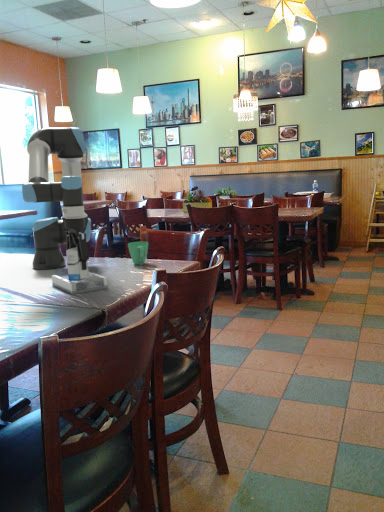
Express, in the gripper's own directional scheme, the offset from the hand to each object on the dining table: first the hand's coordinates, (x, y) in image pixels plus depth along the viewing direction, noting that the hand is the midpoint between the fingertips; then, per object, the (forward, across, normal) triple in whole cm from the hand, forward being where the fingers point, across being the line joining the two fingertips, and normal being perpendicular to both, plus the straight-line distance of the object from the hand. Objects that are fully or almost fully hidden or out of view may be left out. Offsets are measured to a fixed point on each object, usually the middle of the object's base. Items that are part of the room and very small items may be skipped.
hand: (78, 276), depth 171 cm
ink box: (+1, 0, 0) cm, 1 cm away
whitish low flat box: (+4, 0, 0) cm, 4 cm away
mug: (+4, -22, +40) cm, 46 cm away
